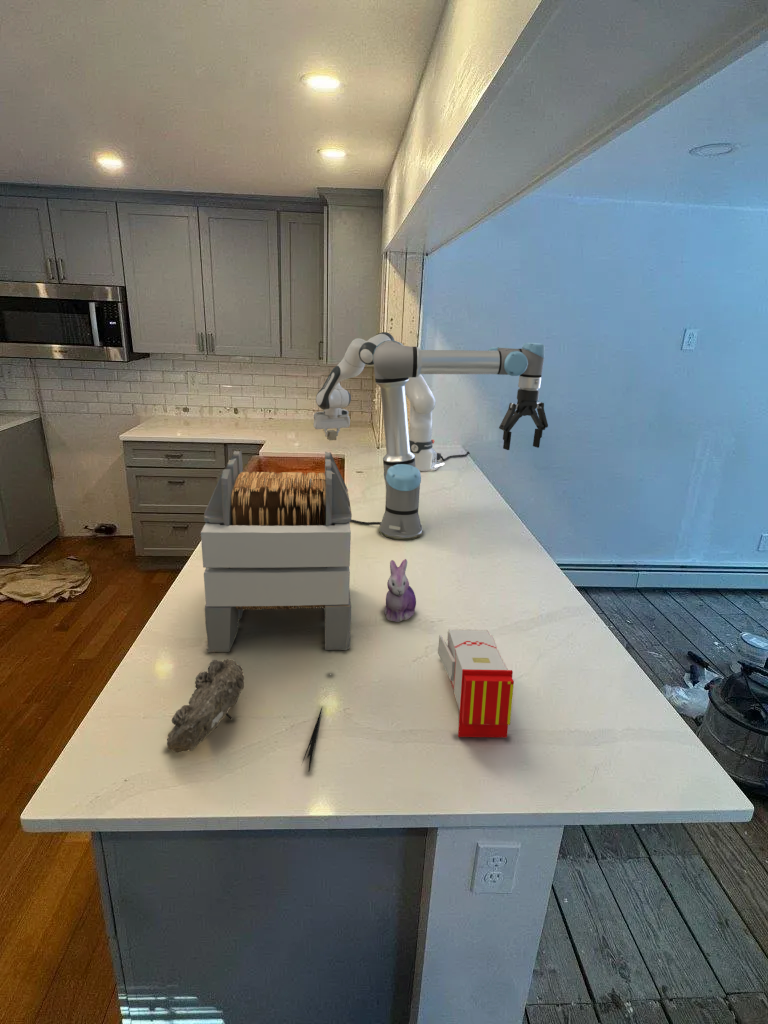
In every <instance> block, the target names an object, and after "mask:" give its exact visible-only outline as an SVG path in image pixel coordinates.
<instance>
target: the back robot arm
mask: <svg viewBox="0 0 768 1024" xmlns="http://www.w3.org/2000/svg"><path fill="white" fill-rule="evenodd" d="M388 340H394V341H396V340H395V338H394V336H393V335H392V334H391V333H390V332H387V331H383V332H382V331H381V332H378V333H376V334H375V335H374V336H371V337H370V338H368V339H367V340H365V339H364V338H359V337H358V338H357V337H356V338H354V339H353V340H352V341H351V342H350V343H349V345H348V347H347V349H346V351H345V353H344V356H343V358H342V359H341V361H340V362H339V363H338V364H336V366H334V367H333V368H332V370H331V371H330V373H329V374H328V376H327V378H326V380H325V382H324V383H323V385H322V386H321V388H320V389H319V390H318V392H317V393H316V396H315V403H316V405H317V406H318V407H319V408H320V409H321V410H322V411H316V412H314V414H313V428H314V429H315V430H323V432H324V434H325V435H324V436H325V437H326V438H327V437H329V433H327V430H333V429H336V430H335V431H336V432H337V433H336V437H339V433H340V431H341V429H347V428H350V426H351V419H350V416H349V413H350V412H349V410H347V409H344V408H348V407H349V406H350V405H351V401H352V398H351V397H352V396H351V393H350V392H349V391H348V390H347V389H345V388H344V387H342V385H341V383H340V382H343V381H345V380H348V379H353V378H355V377H357V376H359V375H360V374H362V372H363V371H364V368H365V367H366V365H367V366H374V363H373V353H374V350H375V348H376V347H377V346H378V345H379V344H380V343H381V342H384V341H388ZM398 342H399V343H400V344H402V345H404V344H403V343H402V342H400V341H398ZM405 393H406V398H407V399H408V401H409V430H408V431H409V444H410V452H411V453H413V454H414V455H415V467H416V468H417V469H418V470H419V471H420V472H436V471H437V470H438V469H439V467H441V466H444V465H445V462H447V460H449V459H450V458H461V457H467V456H469V455H470V454H471V452H470V451H466V453H465V454H453V455H452V454H451V455H448V456H447V457H446V458H444V457H443V456H442V453H440V452H437V451H435V449H434V447H433V445H434V443H435V439H432V437H433V411H434V409H435V408H436V403H437V402H436V397H435V395H434V394H433V392H432V390H431V388H430V387H429V385H428V383H427V381H426V379H425V378H424V376H423V374H420V375H419V376H418V377H409V380H408V382H407V383H406V384H405ZM440 460H442V461H443V462H441V461H440Z"/></svg>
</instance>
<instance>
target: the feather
mask: <svg viewBox="0 0 768 1024" xmlns="http://www.w3.org/2000/svg"><path fill="white" fill-rule="evenodd" d="M329 675H330V676H331V675H332V674H331V673H330V674H329ZM322 710H323V707H321V708H320V710H319V713H318V716H317V719H316V723H315V725H314V728H313V731H312V733H311V737H310V739H309V742H308V745H307V748H306V751H305V754H304V757H303V760H302V763H301V767H302V765H303V763H304V761H305V758H308V759H309V760H308V762H307V763H308V764H307V766H308V771H310V770H311V766H312V765H311V764H312V760H313V757H315V756H314V755H315V751H316V749H315V746H317V739H318V733H319V729H320V722H321V717H322V712H323V711H322ZM313 754H314V755H313ZM306 755H307V757H306Z"/></svg>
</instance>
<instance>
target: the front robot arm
mask: <svg viewBox="0 0 768 1024" xmlns="http://www.w3.org/2000/svg"><path fill="white" fill-rule="evenodd" d="M394 340H395V339H394ZM394 340H388V341H384V342H381V343H380V344H379V345H378V346H377V347H376V348H375V350H374V353H373V363H374V365H373V369H374V380H375V384H376V385H377V386H378V387H379V388H380V399H381V409H382V417H383V418H382V420H383V431H384V440H385V441H384V442H385V450H386V453H385V455H384V456H383V457H382V463H383V479H384V483H385V484H384V485H385V504H384V505H385V507H384V508H385V509H384V513H383V515H382V519H381V521H360V520H357V519H351V521H350V522H349V523H353V524H358V525H365V526H378V533H379V534H380V535H381V536H382V537H385V538H387V539H389V540H395V541H410V540H415V539H418V538H420V537H421V536H422V535H423V525H422V524H421V518H420V515H419V507H420V506H419V505H420V490H421V483H422V475H421V471H419V470H418V469H417V468H416V467H415V455H414V454H413V453H411V452H410V444H409V431H410V430H409V423H408V422H409V420H408V419H409V418H408V407H407V406H408V405H407V395H406V393H405V384H406V383H407V382H408V380H409V377H418V376H419V375H420V374H422V375H497V376H498V375H499V376H501V375H502V376H503V375H504V376H505V375H506V376H507V375H509V376H511V377H518V384H517V387H518V389H517V392H516V400H517V402H516V403H514V402H510V403H509V404H508V409H507V411H506V413H505V414H504V416H503V419H502V421H501V423H500V424H499V427H498V429H499V430H502V431H503V434H502V440H503V445H502V449H503V450H506V451H510V448H511V440H512V431H511V430H512V429H513V427H514V426H515V425H516V424H517V422H518V421H519V420H520V419H521V418H522V417H526V416H529V417H530V418H531V420H532V422H533V423H534V424H535V427H536V428H534V434H533V439H532V440H533V441H532V447H535V448H537V449H539V448H540V443H541V438H543V431H545V430H546V429H547V428H549V424H548V420H547V419H548V418H547V416H546V412H545V403H544V402H542V401H539V398H540V388H541V382H542V375H543V368H544V363H545V362H544V361H545V354H546V347H545V344H543V343H538V342H537V343H536V342H524V343H523V345H522V347H521V348H510V347H500V346H499V347H490V348H488V350H476V349H475V350H470V349H469V350H468V349H467V350H464V349H455V350H453V349H421V348H419V347H418V346H409V345H404V344H403V343H402V344H403V345H402V344H400V343H401V342H400V341H397V340H395V341H394ZM399 342H400V343H399Z"/></svg>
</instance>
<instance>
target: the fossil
mask: <svg viewBox="0 0 768 1024" xmlns="http://www.w3.org/2000/svg"><path fill="white" fill-rule="evenodd" d="M243 670H244V669H243V667H242V665H240V664H237V662H236V661H235V660H234V659H232V658H231V659H227V658H226V659H224V660H223V661H222V660H217V659H212V660H211V661H210V663H209V665H208V666H207V671H201V672H199V673H198V674H197V675H196V676H195V680H194V684H195V685H194V687H195V689H194V690H193V693H192V694H191V697H190V698H189V700H188V704H184V705H182V706H181V707H180V709H177V710H176V711H175V713H174V715H173V716H172V718H171V723H172V724H173V727H172V730H171V731H170V732H168V734H167V738H166V741H167V742H166V745H167V749H168V750H169V751H173V752H174V753H176V754H178V753H182V752H188V751H189V752H192V751H193V750H195V748H196V747H197V746H199V744H200V743H201V742H203V741H204V740H205V739H206V738H207V737H208V736H209V735H210V734H211V733H212V732H214V730H215V729H217V727H218V726H219V724H220V722H221V721H222V720H223V719H224V718H225V716H226V717H227V719H229V720H233V717H232V715H230V714H229V710H230V709H231V708H234V706H235V704H236V703H237V702H238V699H239V697H240V695H241V693H242V691H243V690H245V689H244V688H245V675H244V671H243Z"/></svg>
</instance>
